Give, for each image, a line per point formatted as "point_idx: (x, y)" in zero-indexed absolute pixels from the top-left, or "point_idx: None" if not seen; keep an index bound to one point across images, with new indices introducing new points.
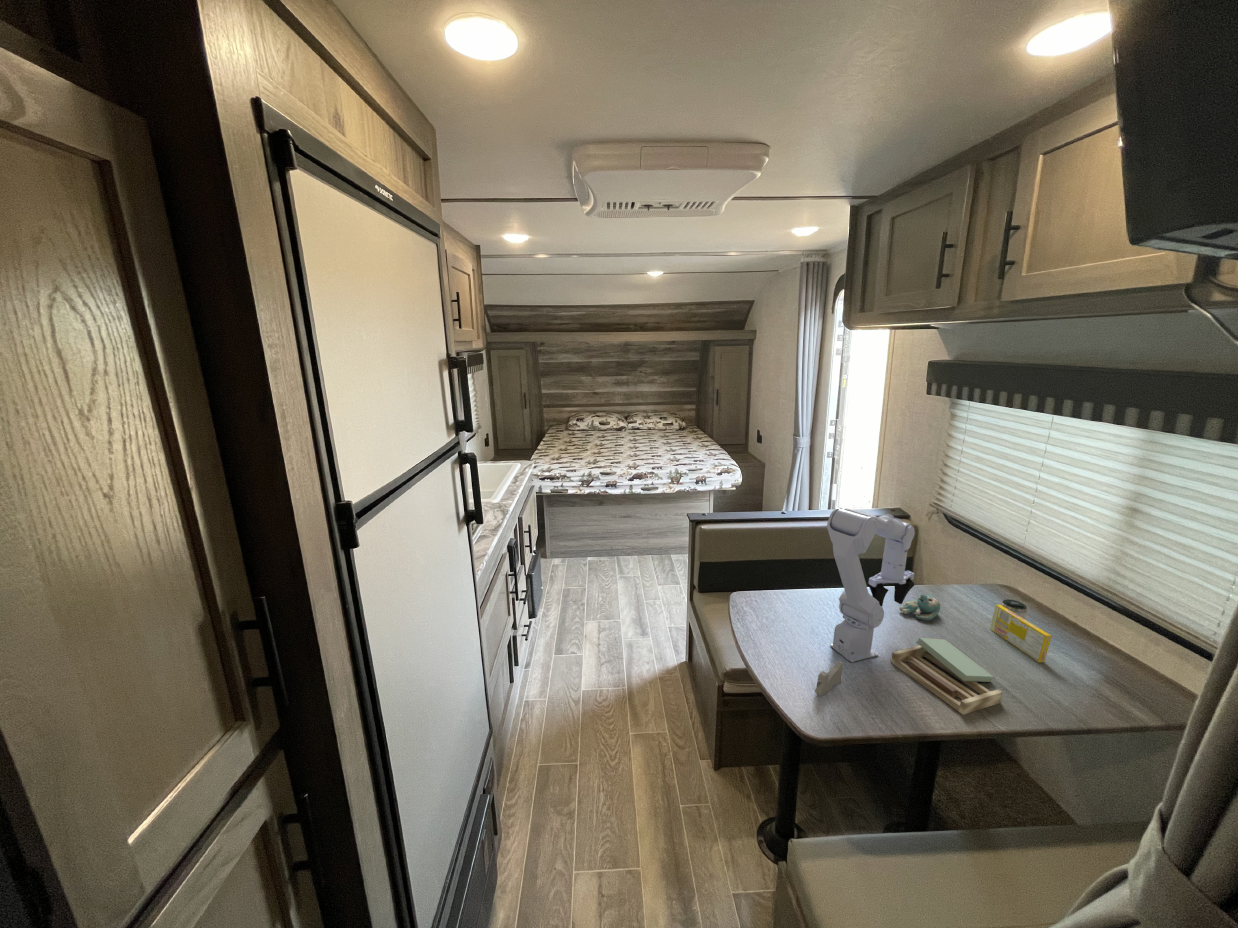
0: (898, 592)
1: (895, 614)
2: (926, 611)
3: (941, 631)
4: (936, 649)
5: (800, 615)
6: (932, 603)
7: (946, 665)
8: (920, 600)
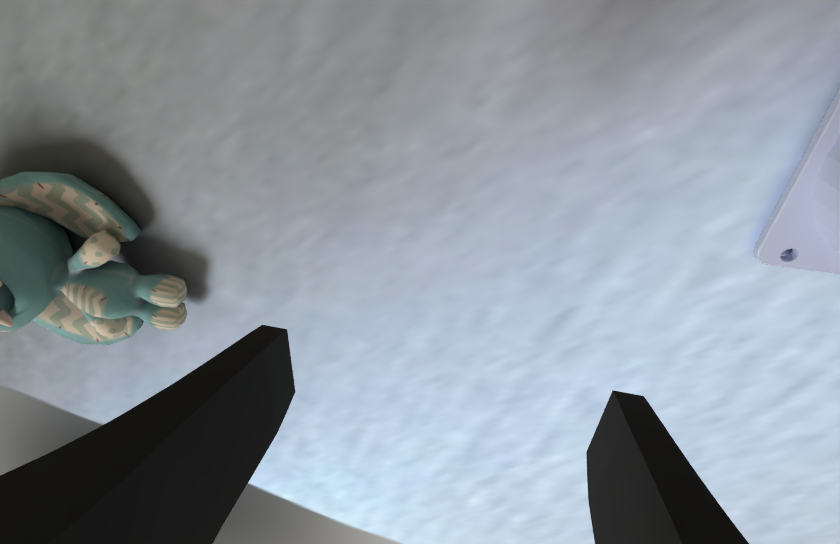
0: (208, 487)
1: (233, 304)
2: (42, 230)
3: (67, 51)
4: None
5: (748, 524)
6: None
7: None
8: (15, 304)
